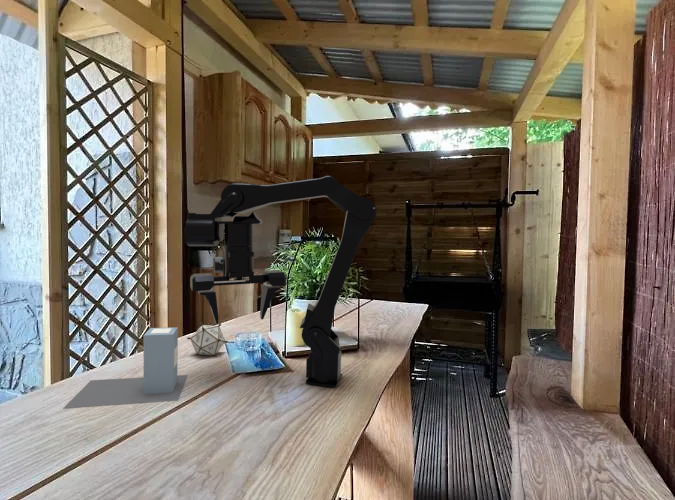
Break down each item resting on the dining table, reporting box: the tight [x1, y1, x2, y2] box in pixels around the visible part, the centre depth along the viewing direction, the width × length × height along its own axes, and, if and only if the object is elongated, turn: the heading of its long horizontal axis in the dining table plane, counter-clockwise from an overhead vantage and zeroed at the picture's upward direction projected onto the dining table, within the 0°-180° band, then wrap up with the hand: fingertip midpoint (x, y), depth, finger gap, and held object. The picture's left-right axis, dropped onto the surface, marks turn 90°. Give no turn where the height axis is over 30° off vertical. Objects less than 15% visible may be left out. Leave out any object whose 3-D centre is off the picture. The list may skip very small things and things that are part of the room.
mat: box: [62, 374, 189, 410], centre depth 72 cm, size 18×12×1 cm, turn 104°
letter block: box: [143, 326, 179, 394], centre depth 73 cm, size 5×5×11 cm
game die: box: [186, 321, 229, 357], centre depth 93 cm, size 9×8×10 cm
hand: (240, 321), depth 80 cm, fingers open, 9 cm apart
